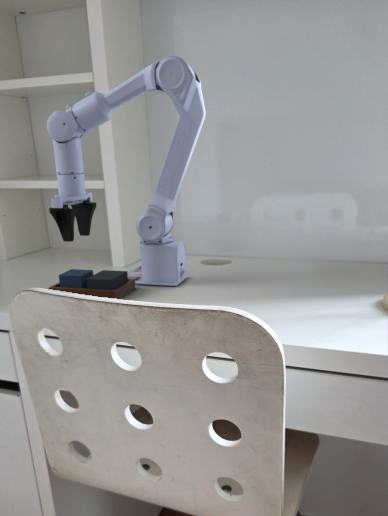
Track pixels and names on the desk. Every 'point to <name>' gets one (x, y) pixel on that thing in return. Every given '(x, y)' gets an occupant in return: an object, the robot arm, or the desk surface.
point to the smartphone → (135, 273)
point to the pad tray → (101, 290)
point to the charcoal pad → (107, 280)
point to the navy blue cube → (75, 278)
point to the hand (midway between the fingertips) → (76, 238)
